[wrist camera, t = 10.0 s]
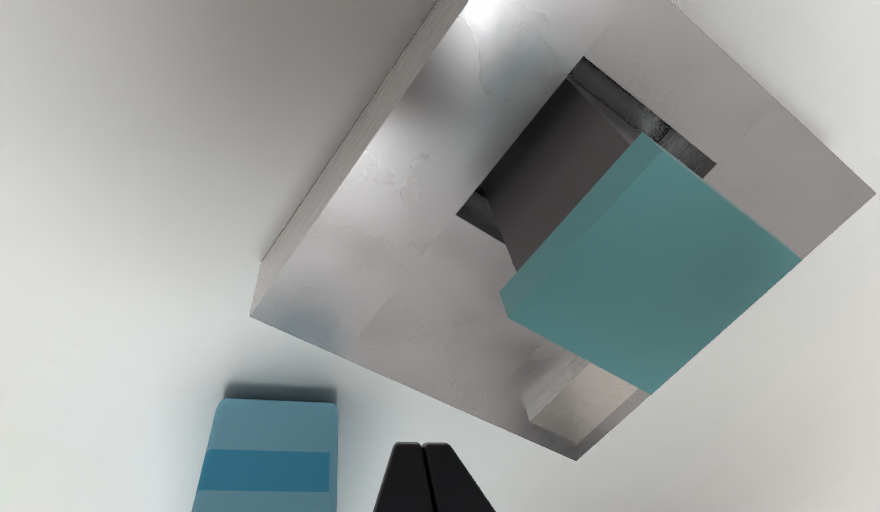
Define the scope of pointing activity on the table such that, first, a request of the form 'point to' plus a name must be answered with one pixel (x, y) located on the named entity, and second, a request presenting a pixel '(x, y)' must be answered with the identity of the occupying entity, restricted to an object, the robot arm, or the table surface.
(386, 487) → the robot arm
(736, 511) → the table surface
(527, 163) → the plug
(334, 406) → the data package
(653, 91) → the faceplate
